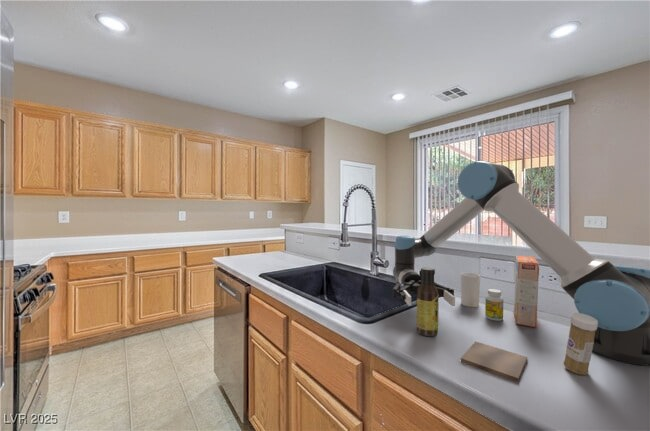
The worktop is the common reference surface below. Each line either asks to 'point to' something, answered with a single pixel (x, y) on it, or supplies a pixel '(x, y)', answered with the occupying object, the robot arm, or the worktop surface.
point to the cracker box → (526, 291)
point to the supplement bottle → (494, 305)
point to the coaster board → (495, 361)
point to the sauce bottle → (427, 304)
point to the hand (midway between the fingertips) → (431, 301)
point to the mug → (470, 289)
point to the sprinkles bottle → (580, 343)
